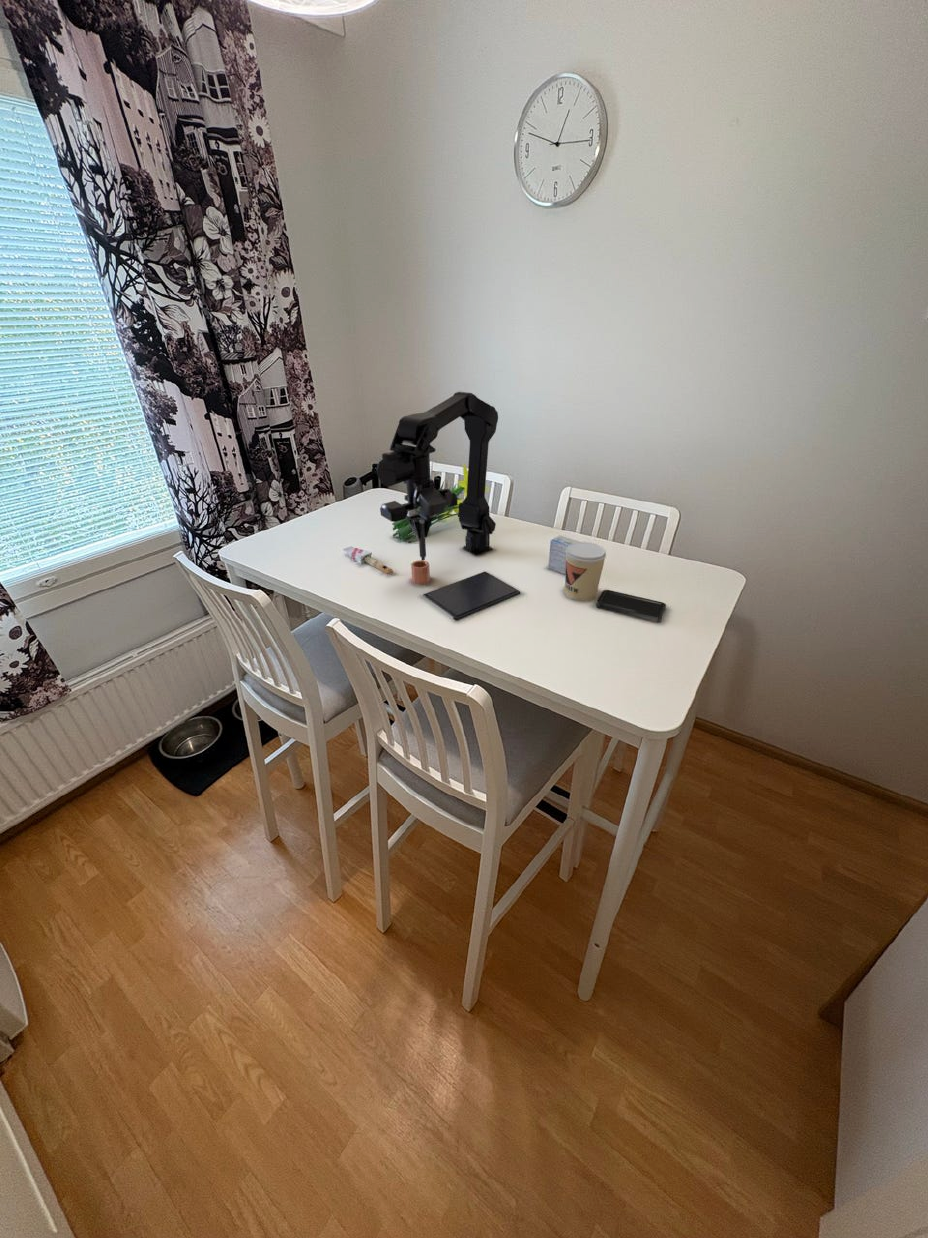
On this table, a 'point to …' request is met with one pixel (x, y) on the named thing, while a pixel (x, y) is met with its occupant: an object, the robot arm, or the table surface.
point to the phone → (631, 605)
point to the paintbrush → (366, 559)
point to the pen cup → (420, 572)
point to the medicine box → (559, 553)
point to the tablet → (471, 595)
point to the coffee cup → (583, 570)
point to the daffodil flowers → (406, 529)
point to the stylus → (422, 541)
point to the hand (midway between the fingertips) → (421, 537)
